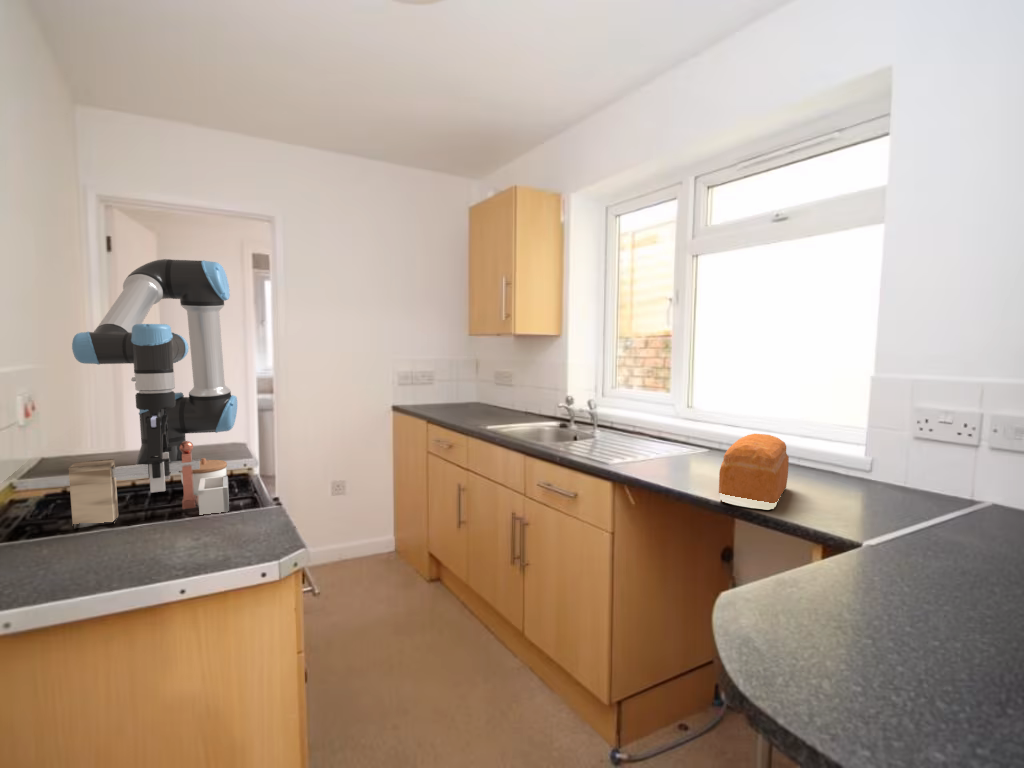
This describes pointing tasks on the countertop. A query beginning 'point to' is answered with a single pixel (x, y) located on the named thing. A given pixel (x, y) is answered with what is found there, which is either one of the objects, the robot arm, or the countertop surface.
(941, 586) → the countertop surface
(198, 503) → the white egg
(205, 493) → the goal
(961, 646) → the countertop surface
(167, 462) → the post with horizontal bar
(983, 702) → the countertop surface
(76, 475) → the paper bag
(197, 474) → the lidded jar
